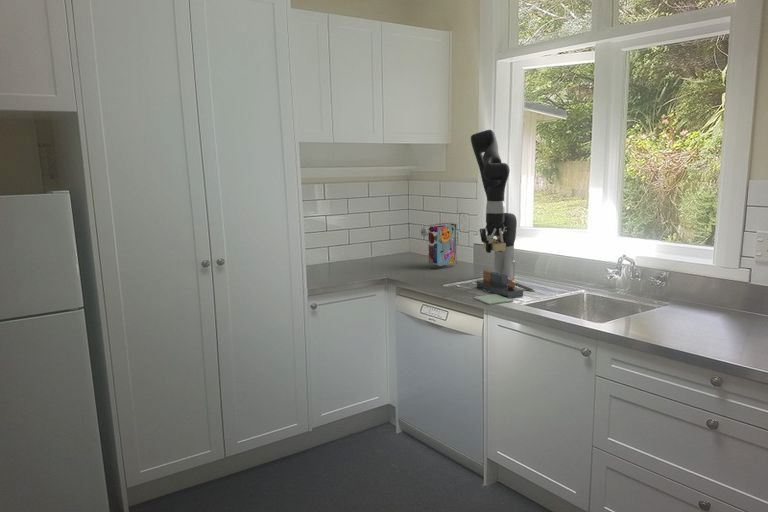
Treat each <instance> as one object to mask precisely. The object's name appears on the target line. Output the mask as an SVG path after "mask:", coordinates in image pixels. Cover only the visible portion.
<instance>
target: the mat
mask: <svg viewBox="0 0 768 512" xmlns="http://www.w3.org/2000/svg"><path fill="white" fill-rule="evenodd" d="M472 298H473V299H474V300H477V301H479V302H481V303H484V304H486V305H489V306H491V305H498V304H505V303H513V302H514V300H513V299H512V298H510V299H508V298H506V297H503V296H500V295H497V294H494V293H492V294H487V295H486V294H485V295H479V296H473V297H472Z"/></svg>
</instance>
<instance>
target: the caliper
mask: <svg viewBox="0 0 768 512" xmlns="http://www.w3.org/2000/svg"><path fill="white" fill-rule="evenodd" d="M508 280H511V279H509V278H508ZM507 285H508V281H507ZM515 287H517V288H519V289H522V290H526V291H529V292H536V290H535V289H534V288H533V287H531V286H528V285H525V284H522V283H520V282H517V281H515Z"/></svg>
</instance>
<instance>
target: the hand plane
mask: <svg viewBox="0 0 768 512" xmlns="http://www.w3.org/2000/svg"><path fill="white" fill-rule="evenodd" d="M482 273H483V274H482V280H477V281H476V288H477V289H481V290H483V291H486V292H489V293H491V294H497V295H500V296H503V297H506V298H508V299H515V298H523V297H524V289H523V288H520V287H517V286H515V282H516V279H515V280H508V276H506V275H503V274H500V273H495V272H494V270H493V271H492V270H490V269H489V270H488V269H485V270H484V269H483V271H482ZM507 281H508V284H507Z"/></svg>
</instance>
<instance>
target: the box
mask: <svg viewBox="0 0 768 512" xmlns="http://www.w3.org/2000/svg"><path fill="white" fill-rule="evenodd" d="M457 231H458V228H457V223H456V222H455V223H454V222H443V223H442V222H441V223H436V224H435V223H434V224H433V223H432V224H429V226H428V233H427V229H426V228H425V227H421V228H420V235H421V237H423V238H425V237H426V236H428V246H427V247H428V265H429V266H433V267H429V269H431V270H432V269H434V270H438V267H439V268H441V267H442V269H445V268H448V269H451V268H452V267H455V266H456V265H457V262H454V261H455V260H458V256H457V241H458V237H457ZM434 233H436V235H435V234H434ZM454 263H455V264H456V265H455V264H454ZM453 264H454V265H453ZM434 267H436V268H434ZM443 267H444V268H443Z"/></svg>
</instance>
